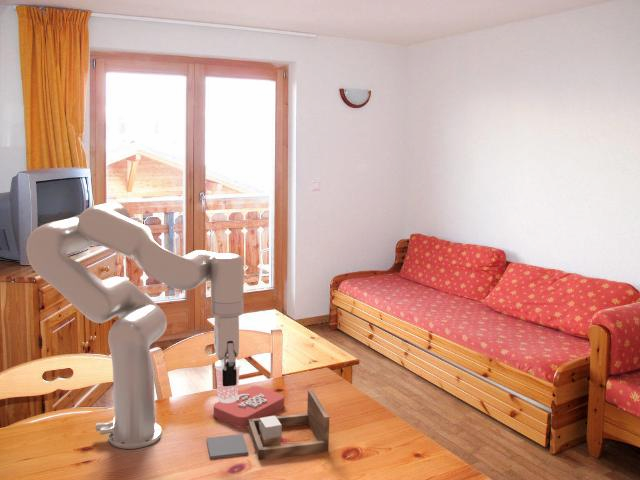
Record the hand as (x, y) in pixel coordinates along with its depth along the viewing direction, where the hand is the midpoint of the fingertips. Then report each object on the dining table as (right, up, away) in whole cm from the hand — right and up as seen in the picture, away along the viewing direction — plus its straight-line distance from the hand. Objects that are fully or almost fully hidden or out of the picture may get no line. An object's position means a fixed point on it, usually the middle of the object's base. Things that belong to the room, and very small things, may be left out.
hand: (227, 379), depth 145 cm
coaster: (-1, -17, +3) cm, 17 cm away
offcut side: (+9, -16, +11) cm, 22 cm away
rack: (+14, -17, +8) cm, 23 cm away
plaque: (+1, -14, +24) cm, 28 cm away
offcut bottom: (+10, -17, +5) cm, 21 cm away
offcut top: (+10, -14, +5) cm, 18 cm away
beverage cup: (0, -5, +1) cm, 5 cm away
